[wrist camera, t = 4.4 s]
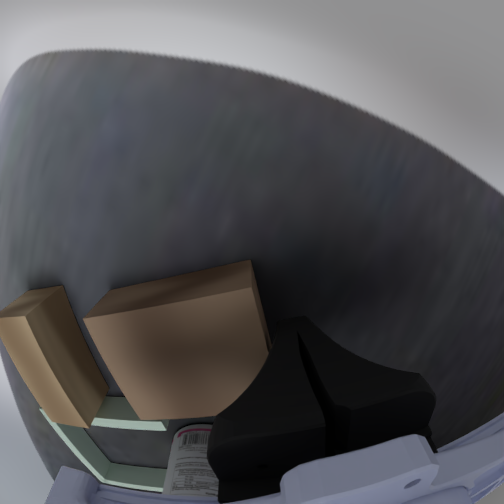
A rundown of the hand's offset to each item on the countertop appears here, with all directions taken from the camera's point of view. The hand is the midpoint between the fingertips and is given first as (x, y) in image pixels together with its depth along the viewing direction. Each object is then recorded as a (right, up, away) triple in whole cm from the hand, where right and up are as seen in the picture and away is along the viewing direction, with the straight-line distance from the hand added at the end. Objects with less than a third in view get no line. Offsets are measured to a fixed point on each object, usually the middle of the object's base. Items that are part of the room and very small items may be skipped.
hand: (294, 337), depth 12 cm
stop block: (-13, -2, +2) cm, 13 cm away
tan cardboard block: (-5, 0, +2) cm, 5 cm away
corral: (-11, -10, +4) cm, 15 cm away
